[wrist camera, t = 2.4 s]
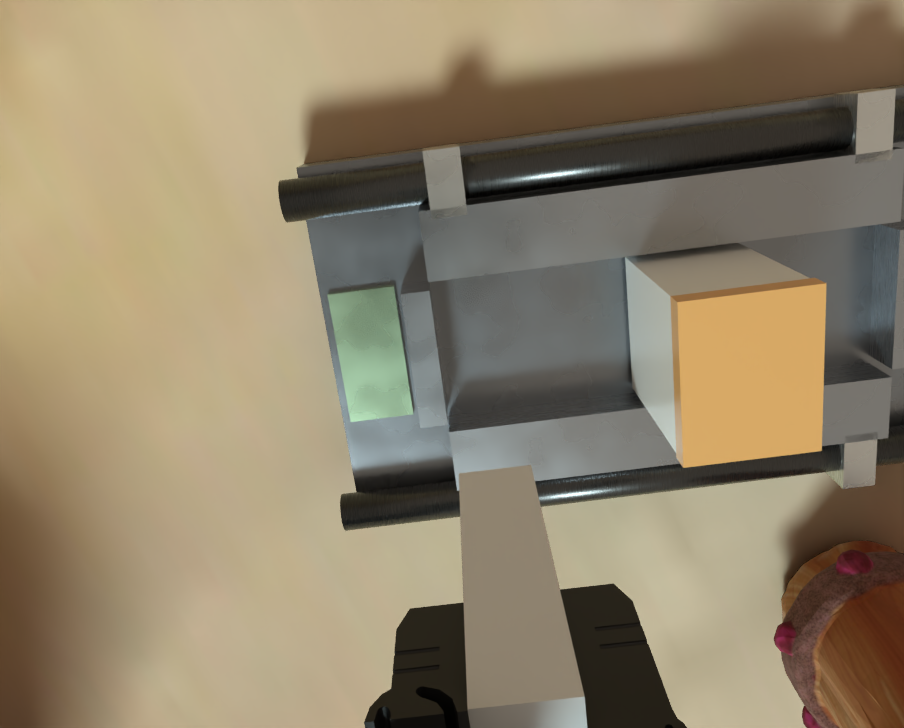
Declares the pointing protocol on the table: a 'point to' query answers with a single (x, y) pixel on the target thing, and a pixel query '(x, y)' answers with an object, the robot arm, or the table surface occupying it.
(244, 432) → the table surface
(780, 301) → the orange grey block
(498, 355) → the panel
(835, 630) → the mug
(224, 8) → the table surface
